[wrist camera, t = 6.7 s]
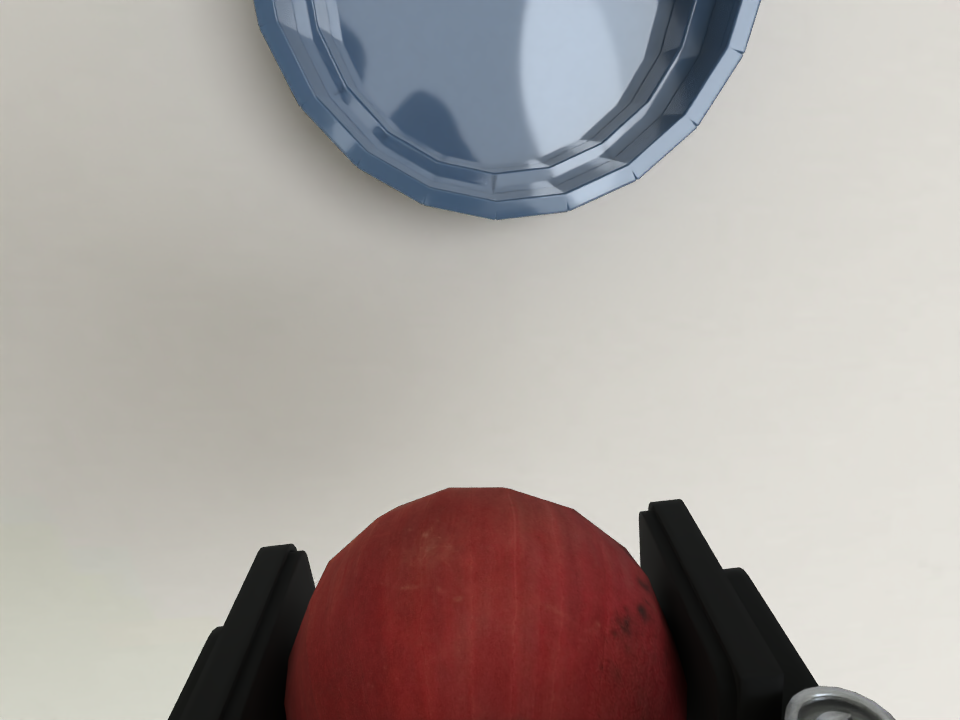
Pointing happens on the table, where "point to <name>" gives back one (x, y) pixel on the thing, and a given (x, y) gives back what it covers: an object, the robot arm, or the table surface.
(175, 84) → the table surface
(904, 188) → the table surface
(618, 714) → the pomegranate
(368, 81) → the bowl
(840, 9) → the table surface
